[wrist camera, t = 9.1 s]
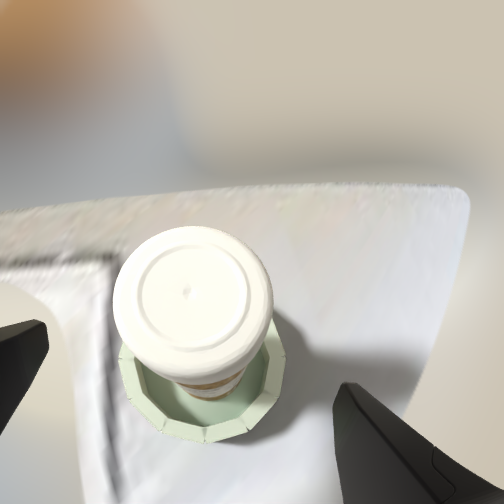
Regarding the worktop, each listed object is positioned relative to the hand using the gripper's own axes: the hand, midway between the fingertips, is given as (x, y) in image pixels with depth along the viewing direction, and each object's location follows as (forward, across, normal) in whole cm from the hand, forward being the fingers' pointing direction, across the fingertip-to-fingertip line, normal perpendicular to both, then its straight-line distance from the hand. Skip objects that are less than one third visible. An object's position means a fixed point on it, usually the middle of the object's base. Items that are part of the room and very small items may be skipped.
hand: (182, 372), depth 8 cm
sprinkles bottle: (+10, 0, +8) cm, 13 cm away
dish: (+11, 0, +8) cm, 13 cm away
